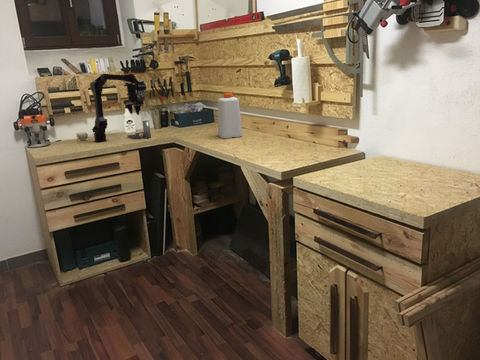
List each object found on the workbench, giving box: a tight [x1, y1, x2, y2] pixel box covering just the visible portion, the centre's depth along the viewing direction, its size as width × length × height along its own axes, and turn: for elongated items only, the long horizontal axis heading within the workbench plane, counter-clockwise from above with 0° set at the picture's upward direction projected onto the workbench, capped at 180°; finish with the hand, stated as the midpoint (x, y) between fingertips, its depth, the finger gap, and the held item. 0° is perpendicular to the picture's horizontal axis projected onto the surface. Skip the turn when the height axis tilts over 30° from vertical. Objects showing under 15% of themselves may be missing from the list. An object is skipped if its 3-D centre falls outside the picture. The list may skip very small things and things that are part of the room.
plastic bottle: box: [217, 92, 244, 139], centre depth 261 cm, size 15×15×28 cm
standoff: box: [141, 119, 152, 140], centre depth 270 cm, size 4×4×12 cm
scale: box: [126, 131, 145, 140], centre depth 278 cm, size 11×13×4 cm
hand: (134, 114), depth 283 cm, fingers open, 9 cm apart
